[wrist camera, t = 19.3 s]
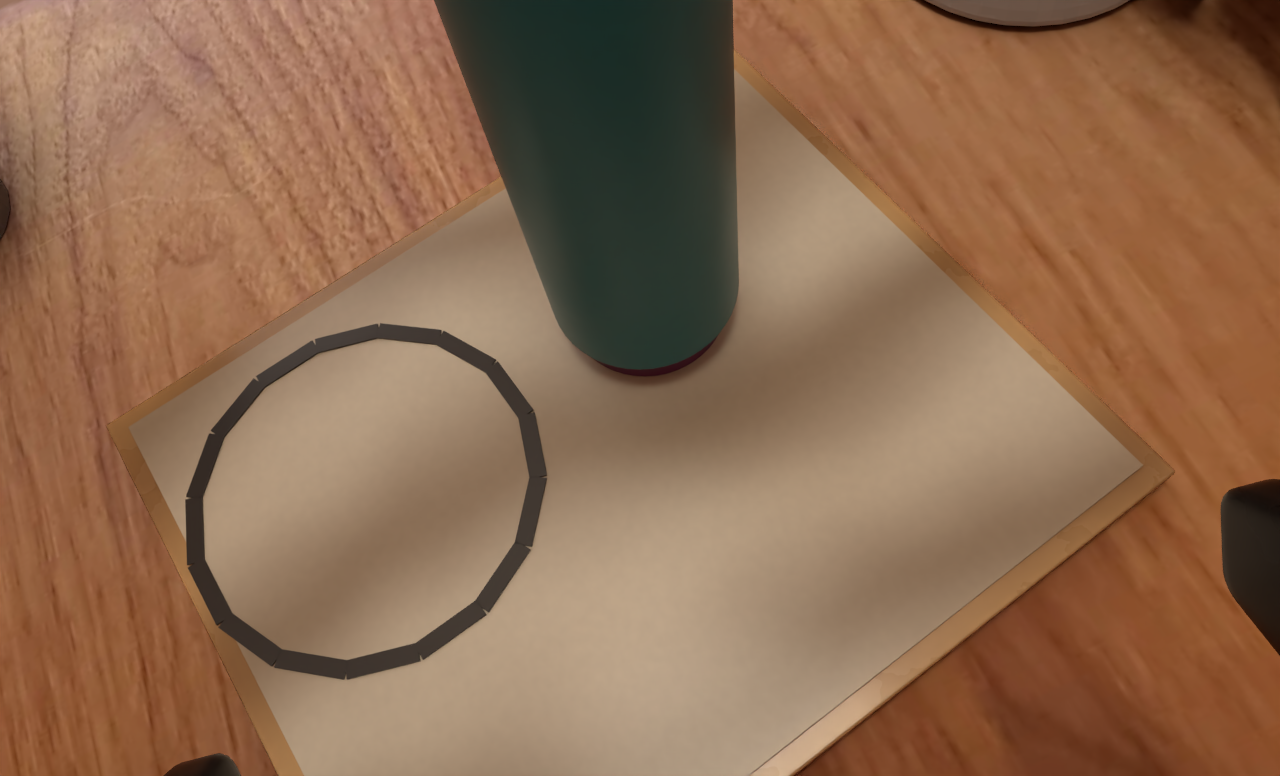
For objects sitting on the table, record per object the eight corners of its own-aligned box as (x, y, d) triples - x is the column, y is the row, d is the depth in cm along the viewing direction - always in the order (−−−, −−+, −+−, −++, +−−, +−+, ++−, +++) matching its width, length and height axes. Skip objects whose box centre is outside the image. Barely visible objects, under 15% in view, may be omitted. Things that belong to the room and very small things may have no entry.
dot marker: (776, 319, 23) (799, -129, 12) (626, 424, 23) (510, 47, 12) (668, 200, 25) (604, -286, 14) (524, 293, 24) (341, -142, 13)
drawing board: (1166, 480, 21) (1180, 468, 21) (431, 1063, 18) (419, 1072, 18) (722, 51, 28) (722, 31, 27) (118, 434, 25) (100, 422, 24)
